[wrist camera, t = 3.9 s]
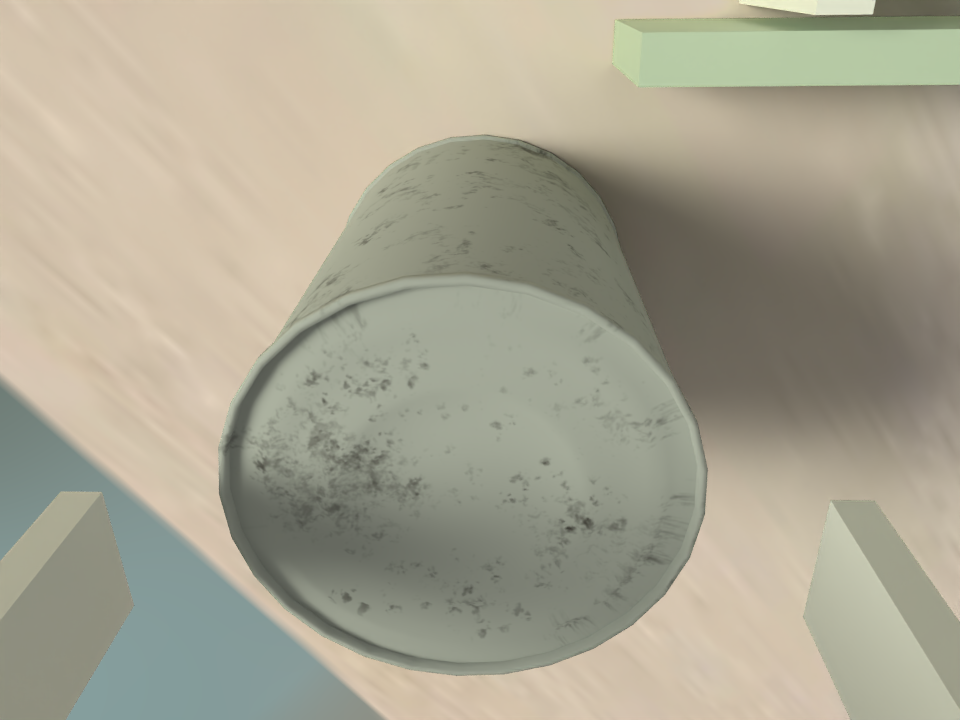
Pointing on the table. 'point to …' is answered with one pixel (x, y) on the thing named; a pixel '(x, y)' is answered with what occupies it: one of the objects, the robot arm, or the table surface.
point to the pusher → (817, 6)
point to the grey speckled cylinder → (467, 425)
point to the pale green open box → (789, 51)
